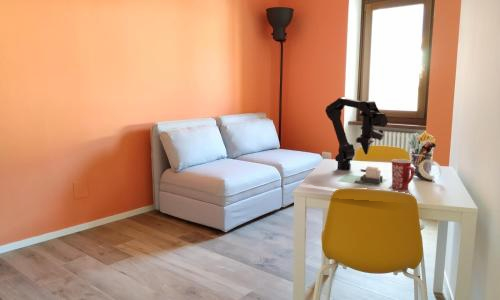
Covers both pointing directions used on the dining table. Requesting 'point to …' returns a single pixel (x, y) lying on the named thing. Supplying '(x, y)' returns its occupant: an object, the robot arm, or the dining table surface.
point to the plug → (372, 172)
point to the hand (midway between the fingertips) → (366, 154)
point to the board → (358, 180)
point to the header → (371, 179)
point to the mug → (401, 174)
